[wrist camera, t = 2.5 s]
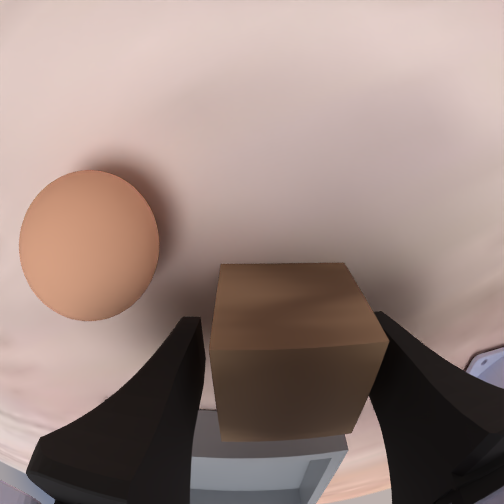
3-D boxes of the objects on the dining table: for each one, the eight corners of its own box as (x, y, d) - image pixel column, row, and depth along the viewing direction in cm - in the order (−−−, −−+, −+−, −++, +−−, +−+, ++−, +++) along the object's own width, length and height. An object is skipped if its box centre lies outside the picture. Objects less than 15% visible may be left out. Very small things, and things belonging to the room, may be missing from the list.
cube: (343, 261, 11) (389, 340, 7) (327, 350, 13) (351, 433, 9) (221, 262, 11) (208, 349, 7) (226, 354, 13) (221, 441, 9)
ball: (168, 153, 9) (114, 184, 5) (179, 275, 11) (149, 360, 7) (57, 166, 9) (-25, 203, 5) (78, 273, 11) (22, 342, 7)
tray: (337, 405, 15) (348, 449, 12) (305, 485, 20) (308, 513, 17) (105, 399, 14) (90, 440, 12) (156, 482, 20) (151, 509, 17)
